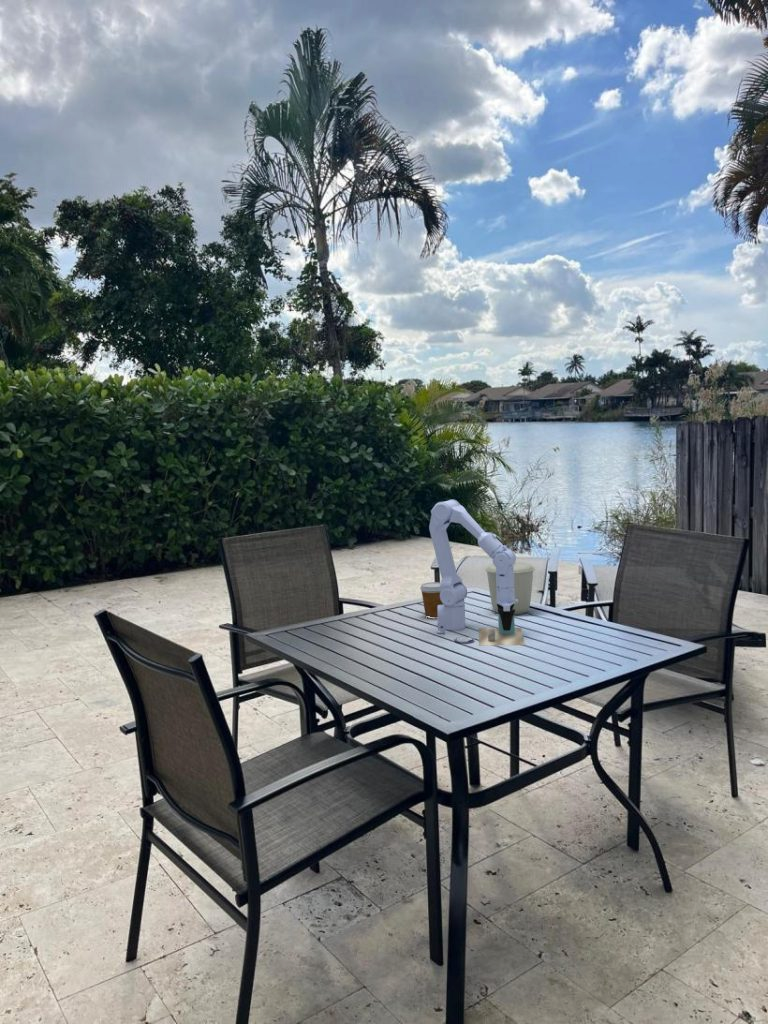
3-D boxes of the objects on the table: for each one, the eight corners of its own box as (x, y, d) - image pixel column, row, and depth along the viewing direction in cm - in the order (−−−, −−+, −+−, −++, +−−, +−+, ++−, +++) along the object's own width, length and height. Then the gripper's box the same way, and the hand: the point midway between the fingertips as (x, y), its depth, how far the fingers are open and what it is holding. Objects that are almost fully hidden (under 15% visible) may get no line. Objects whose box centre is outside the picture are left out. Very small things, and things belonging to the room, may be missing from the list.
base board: (479, 649, 224) (478, 634, 223) (478, 631, 243) (478, 618, 243) (525, 648, 222) (525, 633, 221) (521, 631, 242) (520, 617, 241)
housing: (499, 634, 235) (498, 615, 235) (498, 630, 240) (498, 612, 239) (514, 633, 234) (514, 615, 234) (513, 629, 239) (513, 612, 239)
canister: (522, 620, 256) (520, 561, 254) (477, 614, 267) (475, 557, 265) (544, 609, 270) (543, 553, 268) (500, 604, 281) (499, 550, 279)
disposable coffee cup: (418, 615, 270) (417, 583, 269) (443, 612, 272) (442, 581, 270) (424, 621, 261) (423, 588, 260) (450, 618, 262) (449, 586, 261)
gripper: (519, 591, 228) (520, 633, 229) (516, 582, 242) (517, 621, 244) (496, 591, 229) (497, 633, 230) (495, 582, 243) (496, 622, 245)
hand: (506, 627), depth 237 cm, fingers open, 5 cm apart
